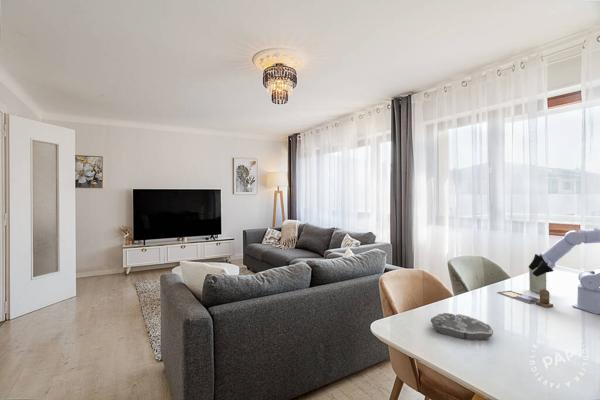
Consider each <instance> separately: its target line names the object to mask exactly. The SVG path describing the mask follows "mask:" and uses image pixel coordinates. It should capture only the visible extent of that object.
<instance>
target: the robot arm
mask: <svg viewBox="0 0 600 400" xmlns="http://www.w3.org/2000/svg"><path fill="white" fill-rule="evenodd" d="M583 243H584V244H600V228H598V227H593V228H592V229H584V230H582V229H578V231H577V230H570V231H567V232H565V234H564V236H563V237H561V238H560V239H559V240H557V241H556V242H554V244H553V245H551V246H550V247H549V248H548V249H547V250H545V251H541V252H538V254H536V253H535V254H534V257H533V259H532V261H531V263H530V264H529V265H528V269H529V268H530V269H532V270H534V269H535V271H534V272H533V273H532V274H533V275H535V276H536V277H537V276H540V275H542V274H544V273H546V274H547V273H552V272H554V271H555V270H554V268H555V267H556V263H557V262H558V261H559V260H561V258H563V257H564V256H565V255H566V254H568V253H569V252H570V251H571V250H572V249H573V248H574V247H575V246H578V245H581V244H583ZM578 280H579V282H580V284H578V285H577V298H576V299H577V301H576V302H577V303H576V304H572V305H571V306H572V307H574V308H576V309H580V310H582V311H586V312H590V313H592V314H596V315H600V268H598V269H593V270H590V271H589V270H584V271H582V272H580V273H579V275H578Z"/></svg>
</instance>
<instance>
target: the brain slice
mask: <svg viewBox="0 0 600 400" xmlns="http://www.w3.org/2000/svg"><path fill="white" fill-rule="evenodd" d="M430 323H431V324H432V327H433V328H434V329H435V331H437V332H438V333H440V334H442V335H444V336H445V335H446V336H450V337H453V338H457V339H465V340H469V341H473V340H474V341H476V340H477V341H486V340H488V339H489V338H491V337H492V335H493V333H494V330H493V329H492V327H491V325H489V323H488V324H487V323H485V322H483V321H482V320H480V319H476V318H474V317H472V316H470V315H469V316H468V315H464V314H459V313H457V314H453V313H447V312H443V313H439V314H437V315H435V316H434V317H431V318H430Z"/></svg>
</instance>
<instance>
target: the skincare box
mask: <svg viewBox="0 0 600 400" xmlns="http://www.w3.org/2000/svg"><path fill="white" fill-rule="evenodd" d="M528 270H529V275H528V276H529V279H528V280H529V284H528V285H529V290H530V291H532V292H534V293H537V294H540V290H542V289H546V290H547V273H544V274H542V275H540V276H537V277H536V276H535V275H533V274H532V273H533V272H534V271H535V269H534V270H532V269H530V268H529V267H528Z"/></svg>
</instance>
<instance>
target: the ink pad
mask: <svg viewBox="0 0 600 400" xmlns="http://www.w3.org/2000/svg"><path fill="white" fill-rule="evenodd" d="M515 300H518V301H522V302H524V303H527V304H536V302H537V301H540V298H537V297H534V296H532V295H529V294H528V295H527V294H522V295H521V296H515Z"/></svg>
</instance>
